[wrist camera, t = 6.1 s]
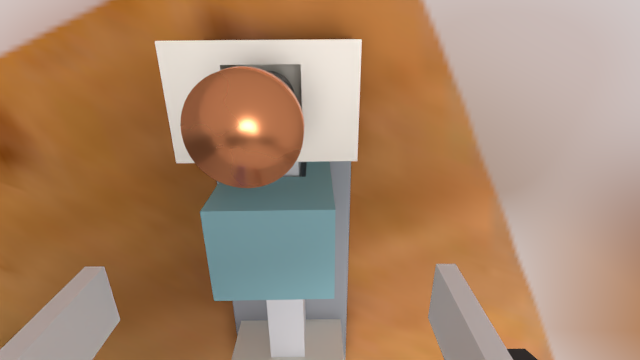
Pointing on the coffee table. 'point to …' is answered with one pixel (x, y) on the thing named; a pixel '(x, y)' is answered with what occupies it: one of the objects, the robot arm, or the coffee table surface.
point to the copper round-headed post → (243, 126)
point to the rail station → (318, 145)
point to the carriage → (272, 238)
